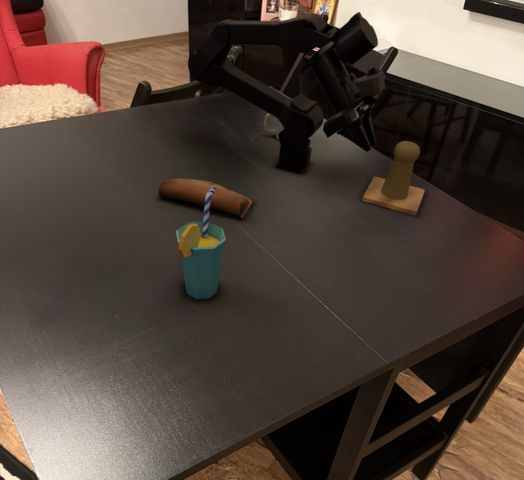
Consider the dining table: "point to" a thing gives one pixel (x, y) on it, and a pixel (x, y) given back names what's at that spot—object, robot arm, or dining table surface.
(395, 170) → the pepper shaker
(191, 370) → the dining table surface
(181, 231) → the cup
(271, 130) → the mug
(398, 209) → the cork mat
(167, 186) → the sunglasses case
